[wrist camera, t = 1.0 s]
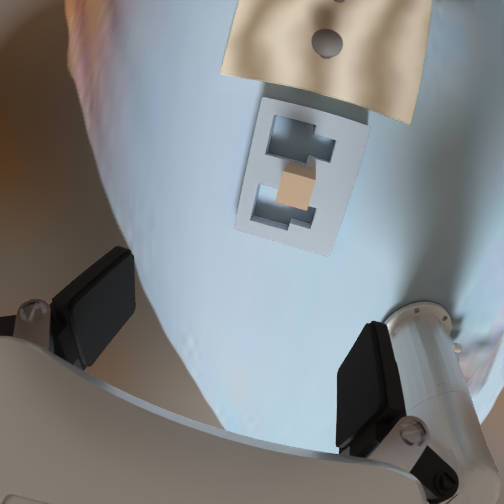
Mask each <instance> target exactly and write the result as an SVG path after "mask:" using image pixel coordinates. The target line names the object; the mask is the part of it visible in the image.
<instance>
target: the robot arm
mask: <svg viewBox="0 0 504 504" xmlns="http://www.w3.org/2000/svg"><path fill="white" fill-rule="evenodd" d="M134 279H135V278H134V255H133V254H131V250H129V249H126V248H123V247H121V246H116V247H115V248H113V249H112V250H111V251H109V252H108V253H107V254H106V255H104V256H103V257H102V258H101V259H99V260H98V261H97V262H95V263H94V264H93V265H92V266H90V267H89V268H88V269H87V270H85V271H84V272H83V273H82V274H81V275H79V276H78V277H77V278H76V279H75V280H73V281H72V282H71V283H70V284H69V285H67V286H66V287H65V288H64V289H63V290H62V291H60V292H59V293H58V294H57V295H56V296H55V297H54V298H52V301H53V302H52V303H51V304H50V305H49V304H48V303H47V302H46V301H45V300H42V299H30V300H28V301H26V302H24V303H23V304H22V305H21V306H20V307H19V308H18V311H17V314H16V315H12V316H5V317H0V504H495V503H496V501H497V499H498V497H499V493H500V477H499V473H498V470H497V466H496V464H495V461H494V459H493V457H492V454H491V452H490V450H489V447H488V445H487V442H486V440H485V437H484V435H483V432H482V429H481V426H480V423H479V420H478V417H477V414H476V411H475V408H474V405H473V401H472V398H471V395H470V392H469V389H468V387H467V384H466V381H465V378H464V375H463V373H462V370H461V367H460V365H459V355H456V354H455V352H460V351H461V350H462V345H461V344H458V343H453V341H452V339H451V336H450V334H451V329H452V323H451V319H450V316H449V314H448V313H447V311H446V310H445V309H444V308H443V307H442V306H440V305H439V304H437V303H433V302H425V301H424V302H416V303H412V304H409V305H407V306H404V307H402V308H401V309H399V310H397V311H396V312H394V313H393V314H392V315H391V316H389V317H388V319H387V320H386V321H385V322H384V323H381V322H376V321H372V322H371V323H370V324H369V323H367V324H366V325H365V326H364V328H363V330H362V332H361V333H360V335H359V337H358V338H357V340H356V342H355V343H354V345H353V347H352V348H351V350H350V352H349V353H348V355H347V357H346V358H345V360H344V361H343V363H342V364H341V366H340V368H339V370H338V373H337V423H336V447H339V454H332V453H325V452H319V451H313V450H307V449H301V448H296V447H291V446H285V445H281V444H276V443H271V442H267V441H263V440H258V439H254V438H250V437H247V436H243V435H239V434H236V433H232V432H229V431H225V430H221V429H218V428H215V427H212V426H209V425H206V424H203V423H200V422H197V421H194V420H191V419H188V418H186V417H183V416H180V415H178V414H175V413H172V412H169V411H167V410H165V409H162V408H160V407H157V406H155V405H152V404H150V403H148V402H146V401H143V400H141V399H139V398H137V397H134V396H132V395H130V394H128V393H126V392H124V391H121V390H119V389H117V388H115V387H113V386H111V385H109V384H107V383H105V382H103V381H102V380H100V379H98V378H96V377H94V376H92V375H90V374H89V373H87V372H85V371H84V370H85V369H86V367H87V366H88V367H90V366H91V365H92V364H93V363H94V362H95V361H96V359H97V358H98V357H99V355H100V354H101V353H102V352H103V350H104V349H105V348H106V346H107V345H108V344H109V343H110V342H111V340H112V339H113V338H114V336H115V335H116V334H117V333H118V332H119V330H120V329H121V328H122V327H123V325H124V324H125V323H126V322H127V320H128V319H129V318H130V317H131V316H132V314H133V313H134V311H135V306H136V303H135V280H134Z"/></svg>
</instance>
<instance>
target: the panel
mask: <svg viewBox="0 0 504 504" xmlns="http://www.w3.org/2000/svg"><path fill="white" fill-rule="evenodd" d="M277 115H278V116H282V117H286V118H290V119H294V120H298V121H302V122H306V123H310V124H313V125H316V128H315V132H314V134H316V135H319V136H323V137H326V138H330V139H333V140H335V143H334V146H333V150H332V154H331V157H330V161H328V160H325V159H321V158H318V157H315V156H311V155H308V159H307V162H306V163H305V162H301V161H298V160H294V159H290V158H287V157H283V156H279V155H275V154H271V153H268V150H269V145H270V141H271V137H272V133H273V128H274V124H275V120H276V116H277ZM370 129H371V127H370V126H367V125H365V124H362V123H359V122H356V121H353V120H350V119H346V118H343V117H340V116H337V115H334V114H330V113H327V112H323V111H320V110H316V109H312V108H309V107H305V106H301V105H297V104H293V103H288V102H284V101H280V100H275V99H270V98H266V97H262V100H261V104H260V108H259V113H258V117H257V121H256V126H255V130H254V135H253V139H252V144H251V149H250V153H249V158H248V162H247V167H246V172H245V176H244V181H243V186H242V191H241V195H240V200H239V205H238V210H237V215H236V220H235V225H234V229H235V230H238V231H242V232H245V233H249V234H252V235H256V236H259V237H263V238H266V239H269V240H273V241H276V242H280V243H283V244H287V245H290V246H293V247H297V248H300V249H304V250H307V251H310V252H314V253H317V254H320V255H324V256H327V257H330V254H331V251H332V248H333V246H334V243H335V240H336V237H337V235H338V232H339V229H340V226H341V223H342V220H343V217H344V214H345V211H346V208H347V205H348V202H349V199H350V196H351V193H352V190H353V187H354V184H355V180H356V177H357V174H358V171H359V167H360V164H361V161H362V157H363V154H364V150H365V147H366V143H367V140H368V136H369V132H370ZM260 184H263V185H267V186H271V187H274V188H278V193H277V197H276V201H275V202H277V203H281V204H284V205H288V206H291V207H295V208H298V209H302V210H305V211H307V209H308V206H310V207H313V208H316V209H315V212H314V215H313V219H312V222H311V223H307V222H304V221H301V220H297V219H294V218H291V221H290V224H289V225H287V224H283V223H280V222H276V221H273V220H269V219H266V218H262V217H259V216H255V215H254V210H255V206H256V202H257V197H258V193H259V189H260Z"/></svg>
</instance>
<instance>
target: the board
mask: <svg viewBox="0 0 504 504" xmlns="http://www.w3.org/2000/svg"><path fill="white" fill-rule="evenodd" d="M431 8H432V0H239V3H238V6H237V10H236V13H235V17H234V21H233V24H232V28H231V32H230V36H229V40H228V44H227V48H226V52H225V56H224V60H223V64H222V69H221V73H220V74H222V75H225V76H233V77H239V78H246V79H252V80H258V81H263V82H269V83H274V84H279V85H283V86H288V87H292V88H297V89H301V90H305V91H309V92H313V93H317V94H320V95H324V96H328V97H331V98H334V99H338V100H341V101H344V102H348V103H351V104H354V105H357V106H360V107H363V108H366V109H369V110H371V111H374V112H377V113H380V114H382V115H385V116H388V117H390V118H393V119H395V120H398V121H400V122H403V123H405V124H407V125H411V121H412V117H413V113H414V109H415V104H416V100H417V96H418V91H419V86H420V82H421V77H422V71H423V66H424V60H425V54H426V48H427V41H428V34H429V27H430V18H431Z"/></svg>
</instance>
